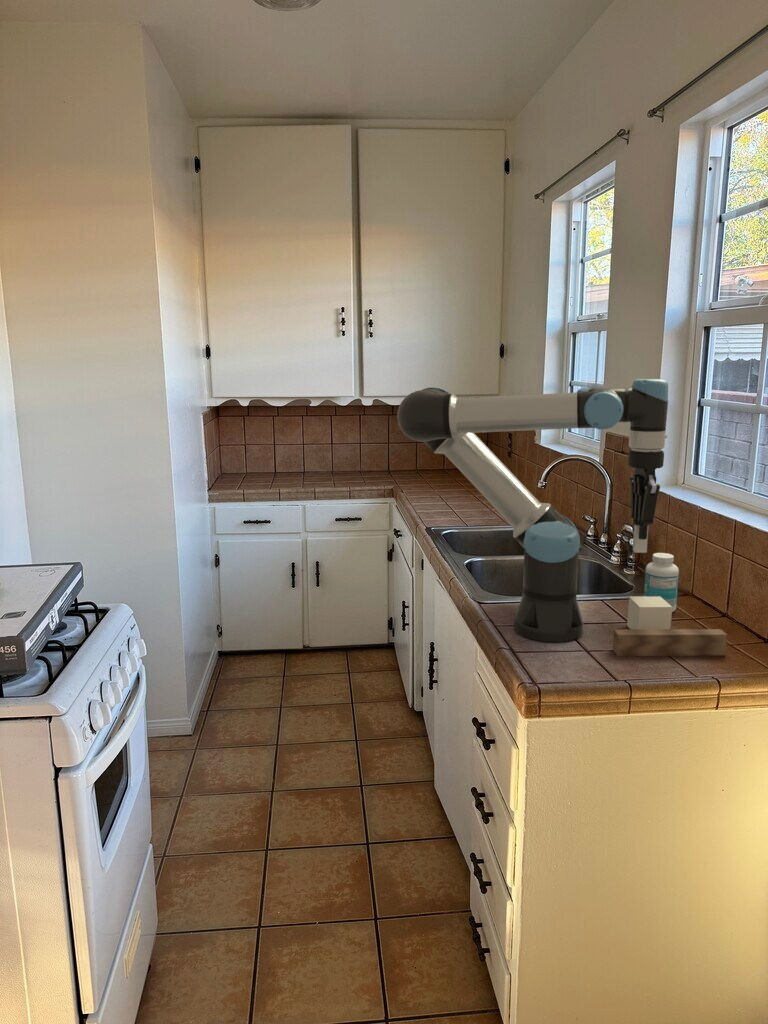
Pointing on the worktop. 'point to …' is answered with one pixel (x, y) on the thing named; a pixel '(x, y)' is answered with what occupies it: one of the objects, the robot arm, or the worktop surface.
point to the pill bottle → (662, 578)
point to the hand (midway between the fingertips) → (639, 551)
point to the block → (649, 613)
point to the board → (669, 642)
